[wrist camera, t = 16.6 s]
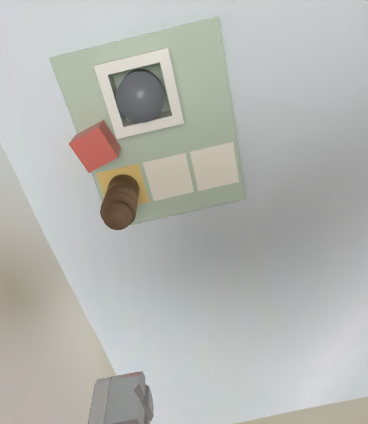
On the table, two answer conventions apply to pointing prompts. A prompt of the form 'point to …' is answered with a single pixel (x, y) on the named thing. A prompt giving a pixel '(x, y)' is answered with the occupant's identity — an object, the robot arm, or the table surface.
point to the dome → (140, 96)
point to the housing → (109, 91)
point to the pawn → (120, 202)
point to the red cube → (95, 146)
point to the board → (170, 136)
